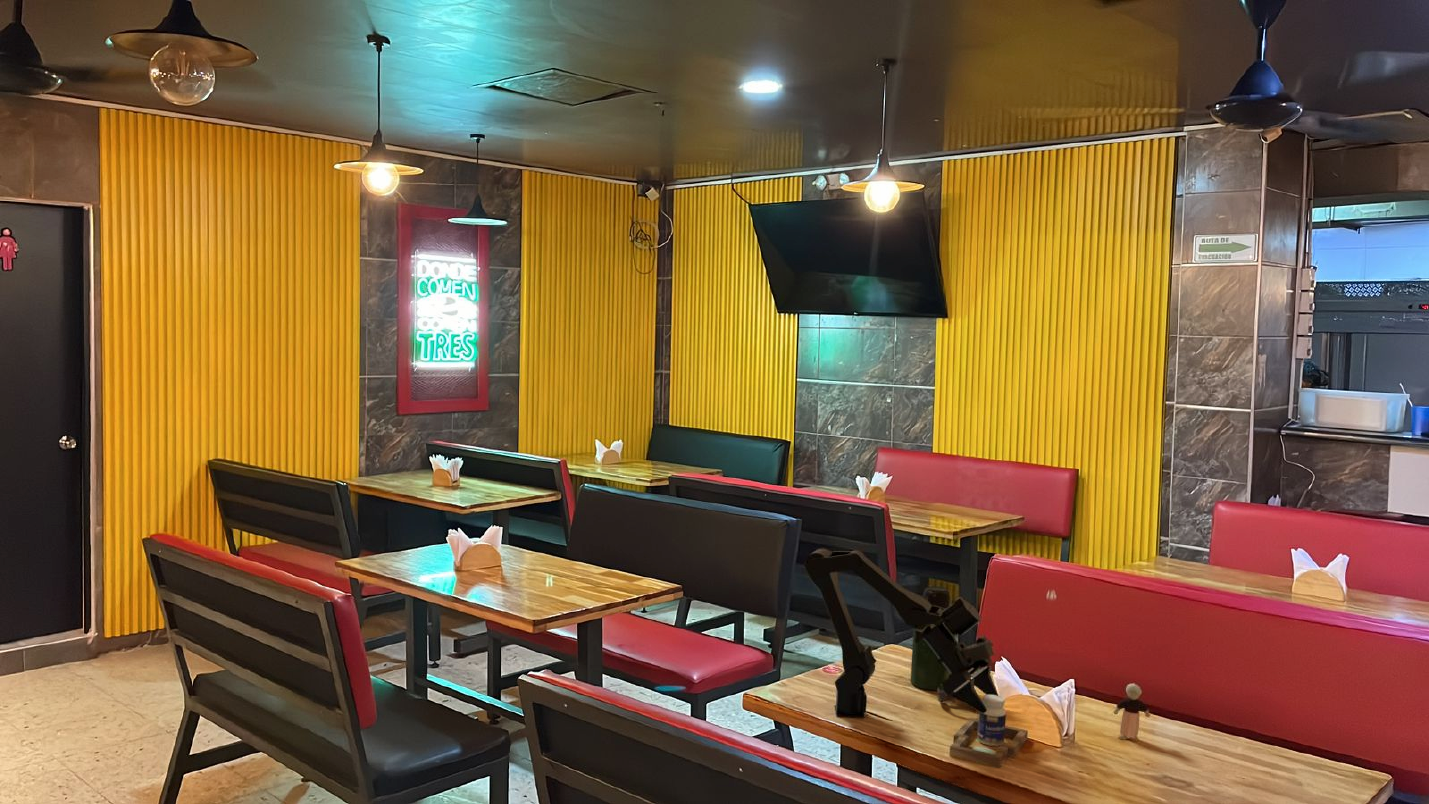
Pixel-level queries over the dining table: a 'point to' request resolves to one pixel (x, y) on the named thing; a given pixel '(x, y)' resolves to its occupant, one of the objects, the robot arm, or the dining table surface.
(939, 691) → the dark brown banded ring
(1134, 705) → the grandmother figurine
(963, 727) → the keyhole frame
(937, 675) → the dark green bottle
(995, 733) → the pill bottle
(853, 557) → the robot arm
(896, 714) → the dining table surface
